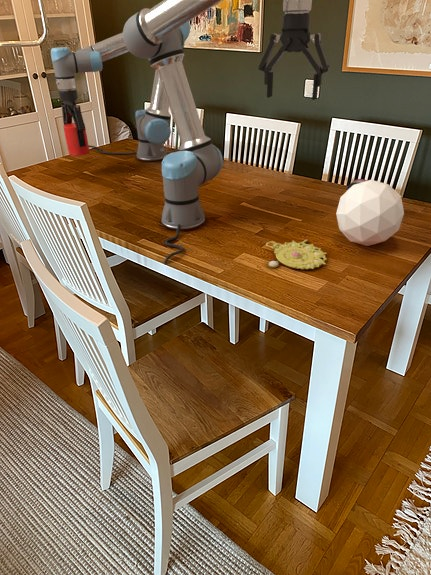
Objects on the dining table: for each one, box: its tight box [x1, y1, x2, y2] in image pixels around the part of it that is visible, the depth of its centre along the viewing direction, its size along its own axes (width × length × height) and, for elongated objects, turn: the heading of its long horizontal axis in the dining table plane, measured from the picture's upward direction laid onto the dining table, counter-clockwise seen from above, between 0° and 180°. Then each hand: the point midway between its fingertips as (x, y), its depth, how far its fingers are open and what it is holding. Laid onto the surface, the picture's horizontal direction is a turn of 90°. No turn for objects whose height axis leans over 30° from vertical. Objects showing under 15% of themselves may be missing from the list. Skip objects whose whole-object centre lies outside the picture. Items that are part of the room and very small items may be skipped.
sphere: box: [335, 179, 405, 247], centre depth 135 cm, size 19×20×20 cm
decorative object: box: [265, 238, 328, 270], centre depth 132 cm, size 21×2×20 cm
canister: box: [62, 122, 90, 157], centre depth 195 cm, size 9×9×12 cm
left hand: (77, 144), depth 196 cm, fingers closed on canister, 9 cm apart
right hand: (291, 98), depth 130 cm, fingers open, 13 cm apart
